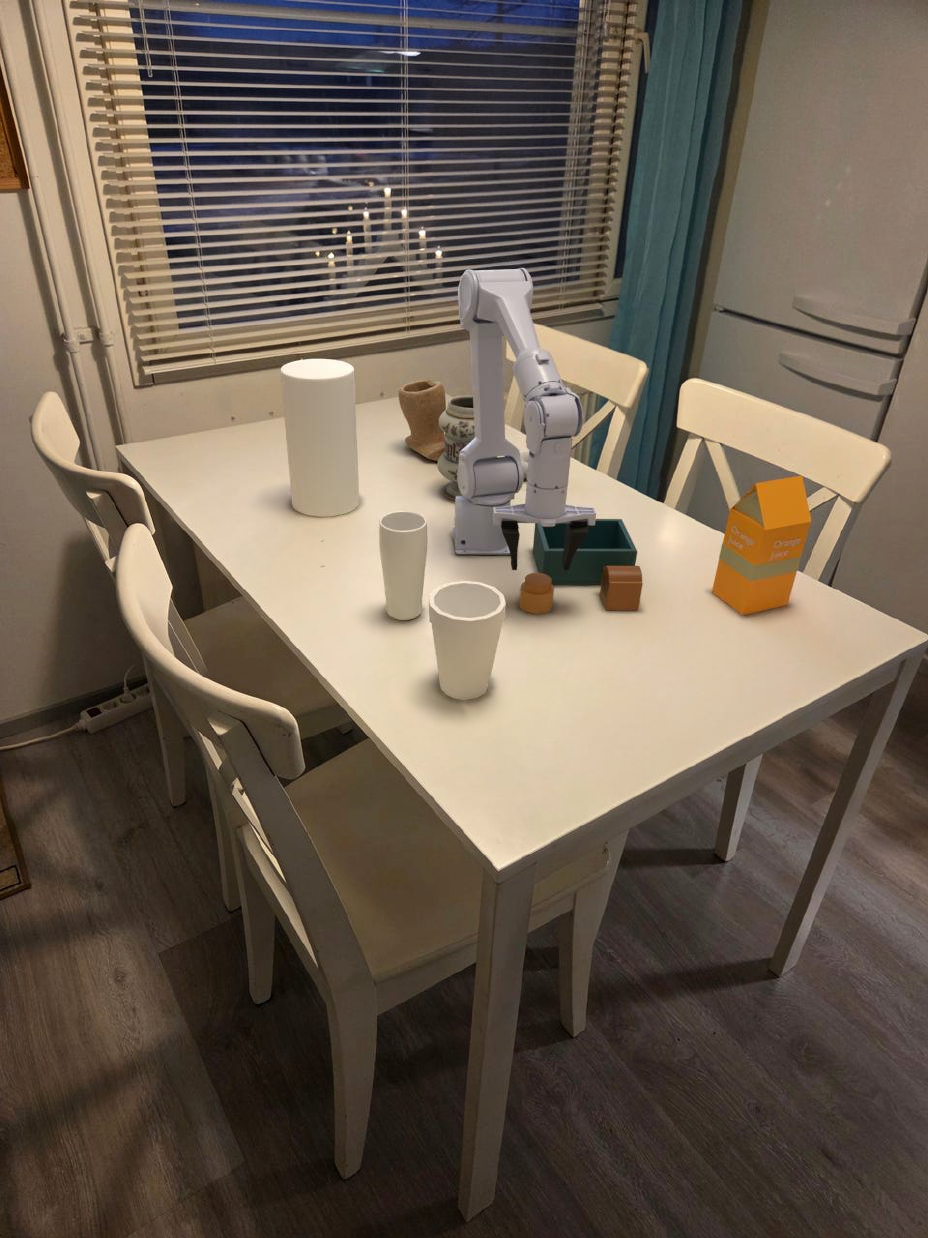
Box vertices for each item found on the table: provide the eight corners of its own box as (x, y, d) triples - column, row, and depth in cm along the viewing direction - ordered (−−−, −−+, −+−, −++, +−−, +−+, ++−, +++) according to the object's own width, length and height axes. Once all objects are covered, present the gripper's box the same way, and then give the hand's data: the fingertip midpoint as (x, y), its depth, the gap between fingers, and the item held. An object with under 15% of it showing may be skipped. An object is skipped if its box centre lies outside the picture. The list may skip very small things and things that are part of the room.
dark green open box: (541, 584, 131) (544, 550, 128) (532, 550, 141) (535, 518, 137) (632, 584, 132) (637, 551, 128) (617, 551, 142) (621, 518, 138)
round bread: (521, 614, 123) (523, 587, 121) (517, 596, 128) (519, 570, 125) (554, 613, 124) (557, 587, 121) (549, 596, 128) (552, 570, 125)
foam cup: (426, 664, 112) (427, 581, 105) (494, 663, 112) (499, 580, 105) (430, 708, 104) (431, 621, 97) (503, 706, 104) (509, 620, 97)
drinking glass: (392, 628, 119) (390, 535, 111) (374, 606, 124) (371, 515, 116) (434, 618, 122) (435, 526, 113) (415, 596, 127) (415, 507, 118)
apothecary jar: (486, 477, 167) (491, 389, 157) (508, 501, 157) (513, 409, 148) (429, 483, 164) (430, 393, 154) (447, 508, 154) (449, 414, 144)
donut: (505, 480, 166) (554, 485, 165) (506, 464, 165) (556, 468, 163) (512, 462, 175) (560, 466, 173) (513, 447, 173) (561, 451, 171)
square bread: (605, 610, 125) (610, 575, 122) (599, 593, 129) (604, 559, 126) (638, 610, 125) (644, 575, 122) (630, 593, 129) (636, 559, 126)
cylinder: (279, 508, 152) (265, 372, 138) (314, 484, 161) (305, 354, 148) (338, 521, 148) (331, 382, 134) (371, 496, 158) (366, 364, 144)
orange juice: (710, 591, 131) (737, 473, 120) (755, 581, 134) (784, 465, 123) (743, 616, 125) (773, 493, 114) (788, 605, 128) (822, 485, 117)
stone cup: (390, 444, 181) (389, 376, 173) (439, 437, 186) (440, 370, 178) (419, 469, 170) (419, 397, 162) (470, 460, 174) (473, 390, 166)
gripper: (498, 492, 111) (493, 580, 118) (604, 493, 112) (593, 580, 119) (493, 472, 117) (489, 557, 124) (594, 473, 118) (584, 557, 125)
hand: (539, 567), depth 122 cm, fingers open, 7 cm apart
